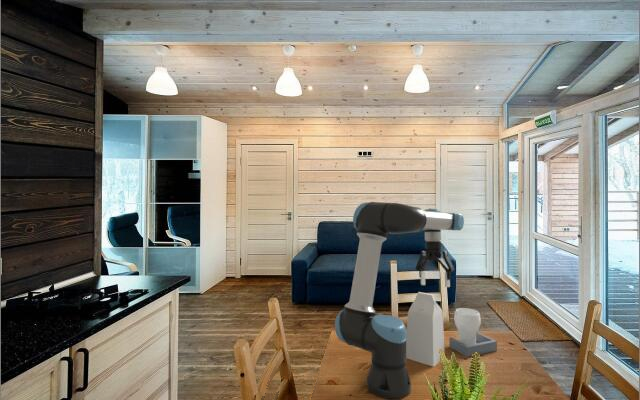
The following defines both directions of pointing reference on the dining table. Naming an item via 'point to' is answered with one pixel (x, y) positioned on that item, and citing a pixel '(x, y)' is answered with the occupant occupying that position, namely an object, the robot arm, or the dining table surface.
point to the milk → (424, 330)
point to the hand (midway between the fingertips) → (435, 285)
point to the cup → (467, 325)
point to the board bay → (474, 345)
